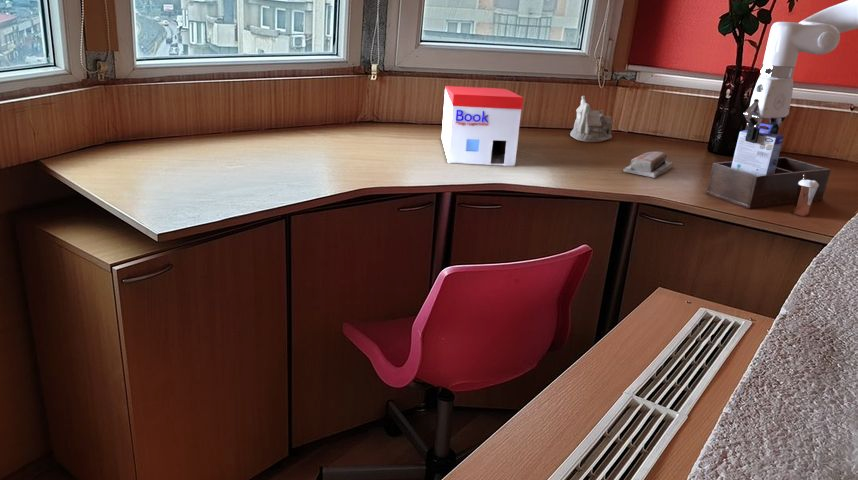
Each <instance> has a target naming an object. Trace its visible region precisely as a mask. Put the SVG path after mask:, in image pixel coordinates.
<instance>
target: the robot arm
mask: <svg viewBox="0 0 858 480" xmlns="http://www.w3.org/2000/svg"><path fill="white" fill-rule="evenodd" d="M854 30H858V0H846V1H843V2H840V3H837V4H834V5H831V6H829V7H827V8H824V9H822V10H820V11H818V12H816V13H813V14H812V15H810V16H808V17H806V18H804V19H802V20H800V21H799V22H795V21H794V22H793V21H792V22H791V21H776V22H774V23H772V25H771V27H770V30H769V35H768V39H767V43H766V47H765V52H764V55H763V61H762V65H761V68H760V69H761V70H760V73H759V77H758V79H757V81H756V83H755V87H754V88H753V92H752V95H751V98H750V103H749V106H748V108H747V109H746V110H745V111H744V112H743V117H744V118H745V121H746V126H747V129H746V130H747V134H746V139H745V141H747V142H751V143H756V142H757V139H758V135H759V131H760V128H761V127H760V128H758V127H759V125H760V123H762V121H763V120H764V119H768V121H769V123H768V124H770V125H773V126H772V129H771V131H770V133H771V134H777V135H779V134H778V133H779V129H780V128H781V127H782V125H783V124H782V123H783V122H784V121H785V120H786V118H787V116H789V115H790V113H791V110H790V108H791V103H792V97H793V91H794V79H793V76H794V72H795V68H796V65H797V60H798V57H799V53H805V54H810V55H816V56H819V55H820V56H822V55H826V54H828V53H831V52H832V51H834V50H835V49H836V48H837V47H838V45H839V43H840V41H841V34H843V33H845V32H851V31H854ZM766 129H767V130H768V129H769V128H768V127H767V126H766Z"/></svg>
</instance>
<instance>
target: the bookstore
mask: <svg viewBox="0 0 858 480" xmlns="http://www.w3.org/2000/svg"><path fill="white" fill-rule="evenodd" d="M523 103H524V97H523V96H522V95H519V94H517V93H516V92H513V91H512V90H509V89H507V88H499V87H478V86H458V85H457V86H456V85H454V86H452V85H445V87H444V100H443V114H442V126H441V127H442V128H441V141H442V145H443V149H444V152H445V156H446V159H447V163H448V164H466V165H485V166H486V165H487V166H505V167H507V166H509V167H515V166H516V160H517V151H518V142H519V134H520V125H521V116H522V110H523V105H524V104H523Z"/></svg>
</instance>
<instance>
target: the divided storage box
mask: <svg viewBox="0 0 858 480" xmlns="http://www.w3.org/2000/svg"><path fill="white" fill-rule="evenodd" d="M732 162H733V160H732V161H731V160H730V161H721V162H719V161H717V162H712V164H711V165H712V166H711V170H710V174H709V179H708V184H707V189H706V194H707V195H709V196H712V197H715V198H718V199H720V200H723V201H726V202H728V203H731V204H734V205H737V206H740V207H742V208H746V209H748V210H751V209H760V208H769V207H778V206H784V205H793V204H794V205H795V201H796V195H797V189H798V182H799V181H801V180H803V174H805V180H812V181H813V180H815V181H816V182H817V183H818V185H819V186H818V188H817V191H816V193H815V196H814V198H813V201H812V202H818V201H823V199H824V196H825V192H826V188H827V184H828V181H829V178H830V174H831V171H832V169H831V168H828V167H823V166H821V165H820V166H819V165H816V164H812V163H810V162H805V161H801V160H797V159H794V158H790V157H787V156H779V157H778V161H777V165H776V169H775V173H774V174H769V175H759V176H756V175H753V174H750V173H746V172H743V171H740V170H737V169H734V168H731V166H732Z"/></svg>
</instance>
